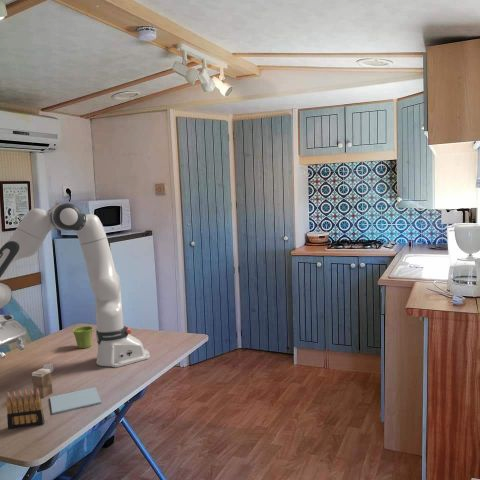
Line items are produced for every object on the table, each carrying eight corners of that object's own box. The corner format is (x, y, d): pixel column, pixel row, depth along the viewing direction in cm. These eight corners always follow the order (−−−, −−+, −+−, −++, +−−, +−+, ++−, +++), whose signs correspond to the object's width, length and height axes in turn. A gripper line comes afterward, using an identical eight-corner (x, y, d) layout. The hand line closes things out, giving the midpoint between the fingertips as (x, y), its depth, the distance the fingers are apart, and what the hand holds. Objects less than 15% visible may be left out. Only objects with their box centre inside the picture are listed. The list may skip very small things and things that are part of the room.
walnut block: (43, 391, 184) (40, 368, 183) (52, 392, 183) (50, 369, 182) (34, 396, 180) (31, 373, 179) (43, 397, 179) (41, 374, 177)
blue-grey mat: (95, 388, 184) (95, 387, 184) (101, 403, 171) (101, 401, 171) (50, 398, 178) (49, 396, 178) (52, 414, 165) (52, 412, 165)
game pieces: (45, 371, 206) (44, 364, 205) (53, 370, 206) (53, 363, 205) (35, 382, 194) (35, 374, 193) (44, 382, 194) (43, 374, 194)
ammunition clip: (7, 429, 156) (3, 393, 155) (9, 426, 158) (5, 391, 157) (43, 424, 158) (39, 389, 157) (44, 422, 160) (40, 386, 158)
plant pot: (70, 347, 234) (69, 329, 233) (89, 342, 240) (87, 324, 239) (79, 351, 227) (77, 333, 226) (98, 346, 234) (96, 328, 233)
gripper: (-30, 329, 176) (-6, 357, 173) (15, 313, 195) (37, 339, 192) (-37, 340, 178) (-14, 369, 176) (8, 324, 197) (29, 349, 194)
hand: (13, 353), depth 184 cm, fingers open, 8 cm apart
